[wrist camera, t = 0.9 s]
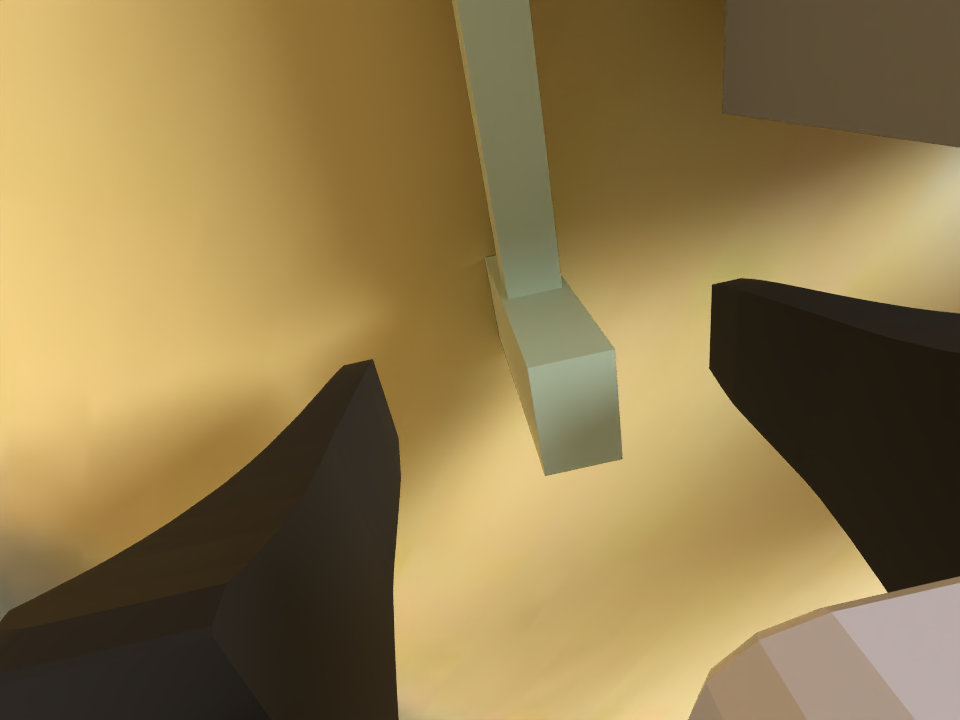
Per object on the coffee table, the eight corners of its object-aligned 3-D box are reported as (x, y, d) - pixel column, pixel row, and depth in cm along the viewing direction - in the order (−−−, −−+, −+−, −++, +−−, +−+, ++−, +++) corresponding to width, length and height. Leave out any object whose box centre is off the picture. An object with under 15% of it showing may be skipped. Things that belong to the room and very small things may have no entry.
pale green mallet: (530, -390, 9) (698, -1037, 4) (593, 316, 15) (687, 445, 10) (296, -341, 9) (131, -928, 4) (456, 346, 15) (480, 489, 10)
